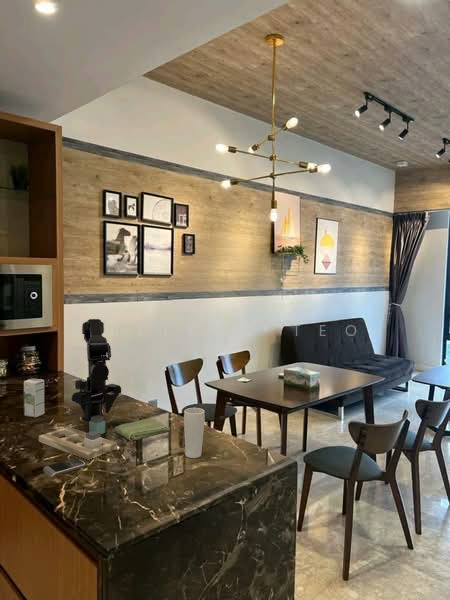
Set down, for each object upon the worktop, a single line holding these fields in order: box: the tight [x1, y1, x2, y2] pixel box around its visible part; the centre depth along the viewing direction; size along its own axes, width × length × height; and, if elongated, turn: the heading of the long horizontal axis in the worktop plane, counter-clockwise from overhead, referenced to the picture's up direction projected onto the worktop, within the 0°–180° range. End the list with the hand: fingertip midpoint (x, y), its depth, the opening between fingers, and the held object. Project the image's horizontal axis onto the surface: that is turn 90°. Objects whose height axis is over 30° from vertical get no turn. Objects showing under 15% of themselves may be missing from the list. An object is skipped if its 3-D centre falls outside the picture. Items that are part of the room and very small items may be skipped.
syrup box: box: [23, 378, 45, 418], centre depth 184 cm, size 6×6×14 cm
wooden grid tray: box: [38, 426, 118, 461], centre depth 154 cm, size 12×26×2 cm, turn 56°
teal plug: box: [88, 415, 106, 435], centre depth 166 cm, size 4×4×6 cm
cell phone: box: [42, 457, 86, 478], centre depth 136 cm, size 6×11×1 cm, turn 134°
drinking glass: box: [183, 407, 206, 459], centre depth 147 cm, size 7×7×15 cm
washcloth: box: [114, 418, 171, 442], centre depth 169 cm, size 13×18×3 cm
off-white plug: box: [84, 431, 103, 450], centre depth 149 cm, size 4×4×6 cm
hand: (97, 416), depth 166 cm, fingers open, 9 cm apart
